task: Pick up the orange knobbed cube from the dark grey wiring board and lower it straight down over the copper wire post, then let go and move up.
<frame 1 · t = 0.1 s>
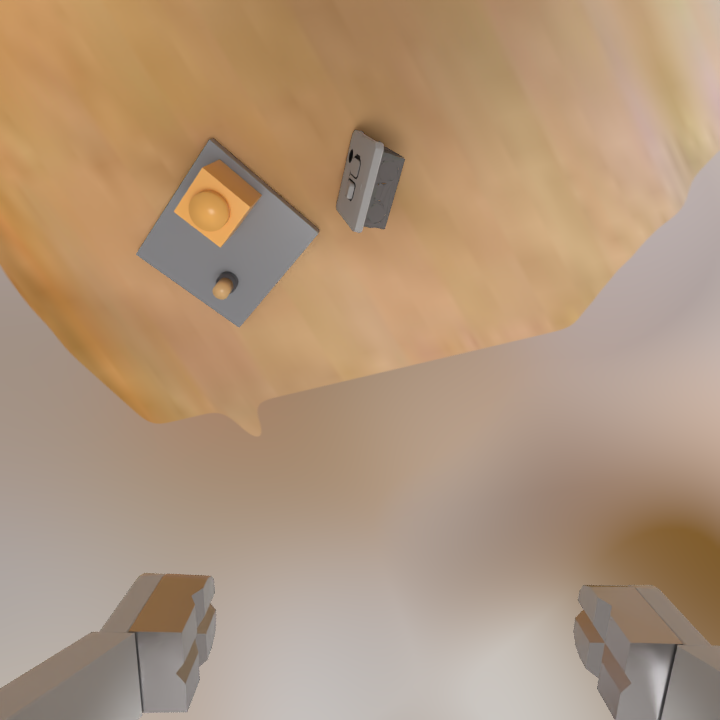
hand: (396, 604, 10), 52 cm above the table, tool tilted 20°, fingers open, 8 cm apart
electrical switch: (366, 174, 54), on the table
wiring board: (229, 240, 58), on the table
orange knobbed cube: (227, 197, 54), point 1 cm above the table, touching wiring board
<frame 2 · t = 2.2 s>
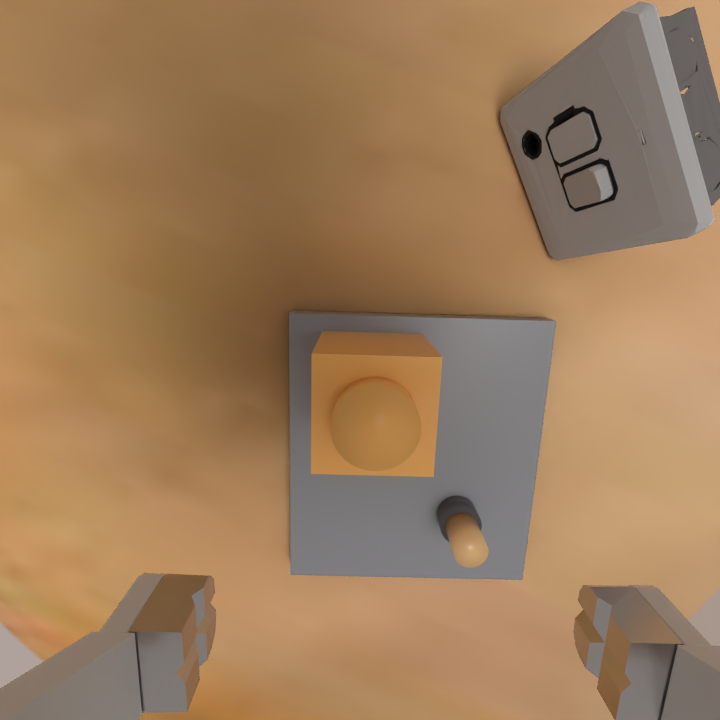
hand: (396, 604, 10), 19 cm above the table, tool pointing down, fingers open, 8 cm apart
electrical switch: (562, 166, 26), on the table
wiring board: (411, 446, 30), on the table
orange knobbed cube: (370, 380, 27), point 1 cm above the table, touching wiring board
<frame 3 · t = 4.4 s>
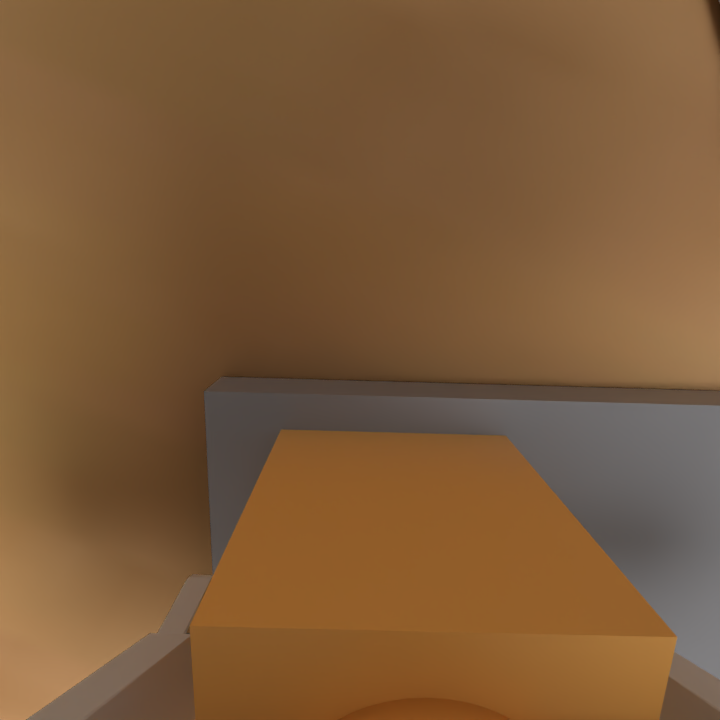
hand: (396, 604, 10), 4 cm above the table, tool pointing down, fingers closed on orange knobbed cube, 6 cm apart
wiring board: (467, 639, 15), on the table
orange knobbed cube: (388, 532, 12), point 1 cm above the table, touching gripper, wiring board
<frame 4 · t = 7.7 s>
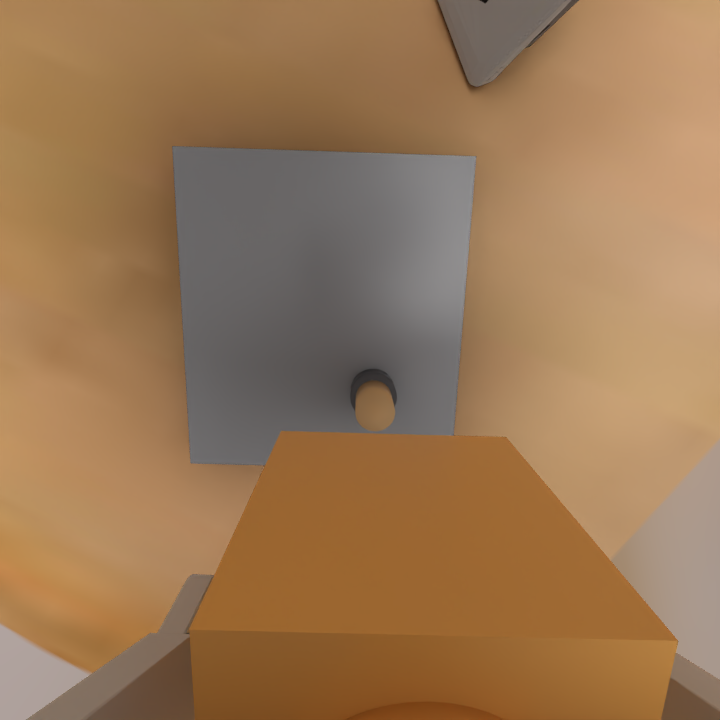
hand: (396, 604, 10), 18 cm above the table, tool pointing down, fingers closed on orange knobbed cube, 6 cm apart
wiring board: (324, 318, 27), on the table
orange knobbed cube: (388, 534, 12), point 16 cm above the table, touching gripper
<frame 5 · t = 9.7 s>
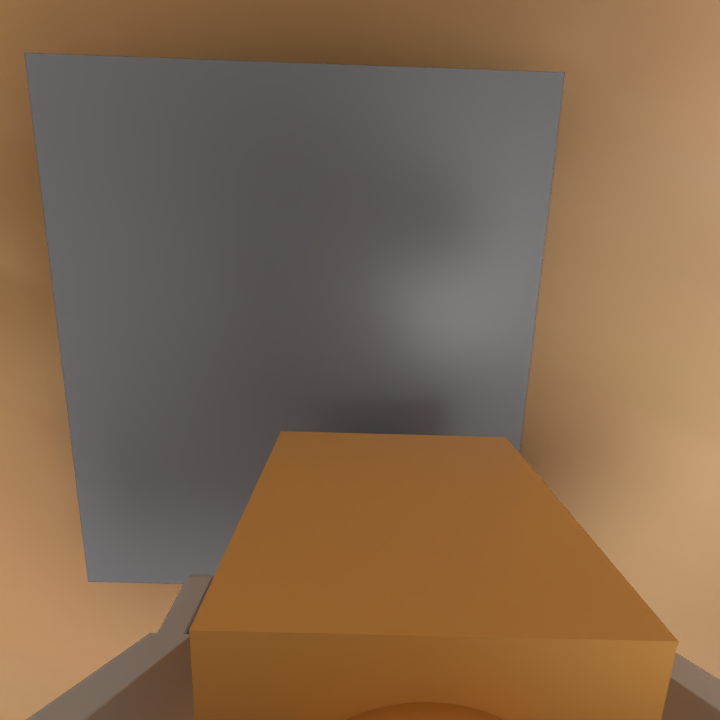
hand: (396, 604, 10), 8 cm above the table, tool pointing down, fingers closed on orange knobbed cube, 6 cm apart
wiring board: (302, 350, 16), on the table
orange knobbed cube: (388, 534, 12), point 5 cm above the table, touching gripper
when the fingers open (6 cm above the table, at t = 11.3 s): orange knobbed cube drops 1 cm, resting on wiring board.
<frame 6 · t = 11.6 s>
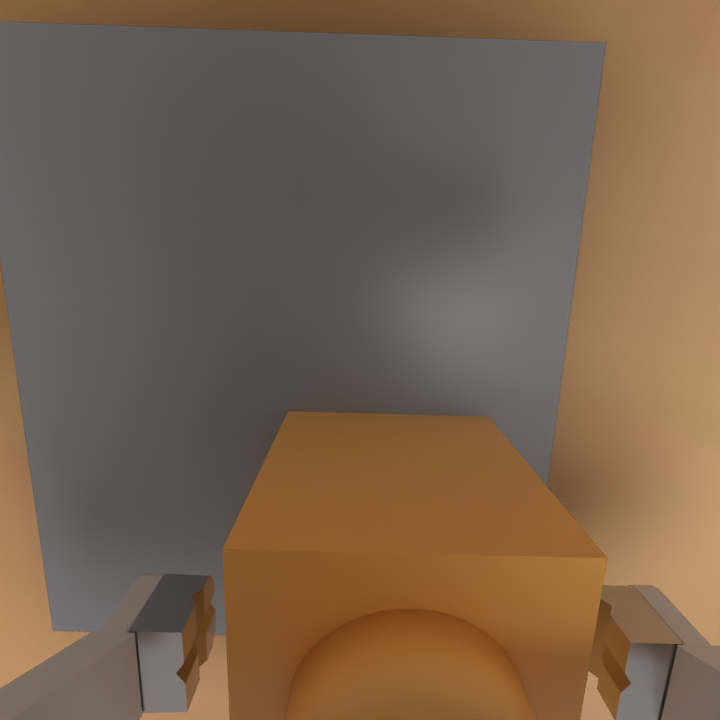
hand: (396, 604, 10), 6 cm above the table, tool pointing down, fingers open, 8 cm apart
wiring board: (296, 367, 14), on the table
orange knobbed cube: (384, 504, 14), point 1 cm above the table, touching wiring board
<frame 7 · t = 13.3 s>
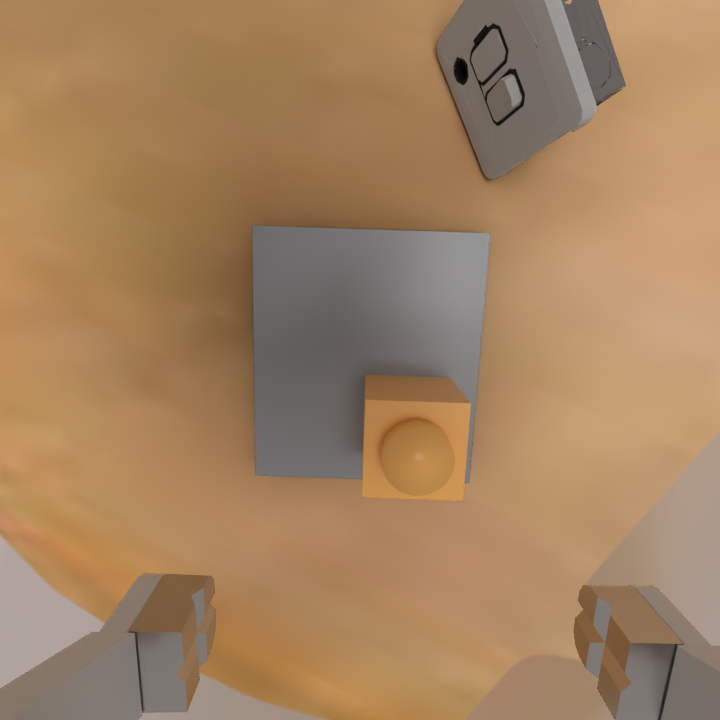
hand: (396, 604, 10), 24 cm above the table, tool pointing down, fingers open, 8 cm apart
electrical switch: (495, 97, 30), on the table
wiring board: (366, 357, 33), on the table
orange knobbed cube: (405, 416, 32), point 1 cm above the table, touching wiring board
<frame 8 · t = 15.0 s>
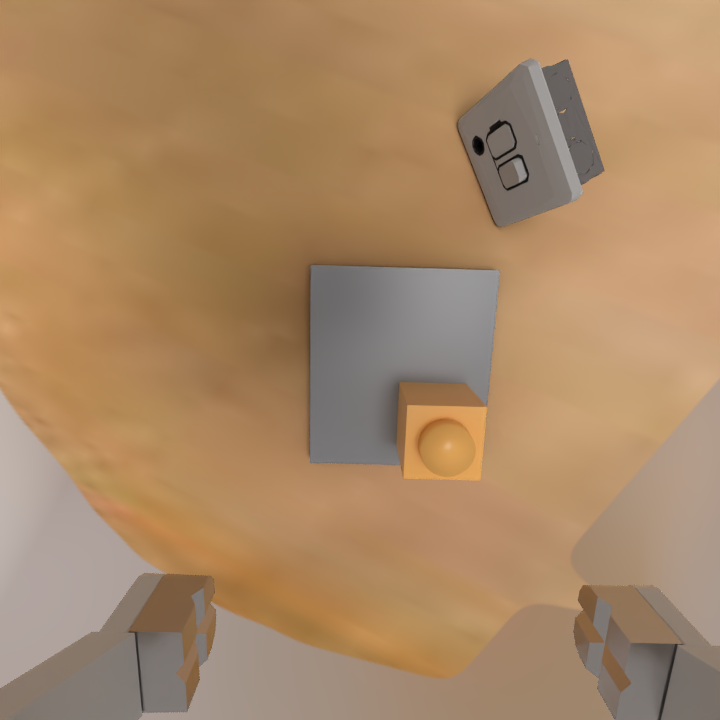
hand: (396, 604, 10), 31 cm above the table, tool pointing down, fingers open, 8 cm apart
electrical switch: (503, 160, 37), on the table
wiring board: (398, 367, 41), on the table
orange knobbed cube: (430, 414, 40), point 1 cm above the table, touching wiring board
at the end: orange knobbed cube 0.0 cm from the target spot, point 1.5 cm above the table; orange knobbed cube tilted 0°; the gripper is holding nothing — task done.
